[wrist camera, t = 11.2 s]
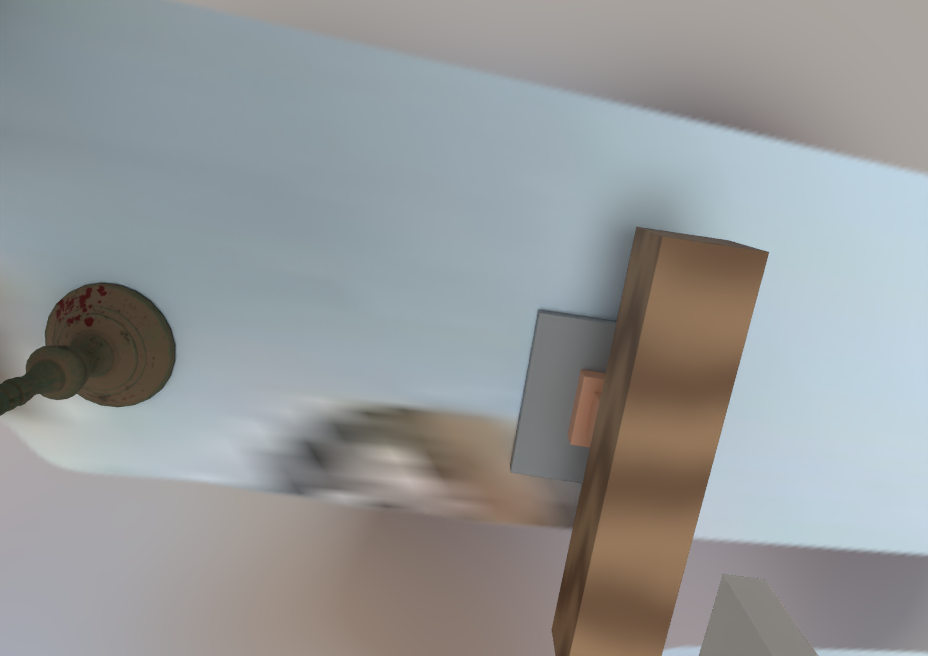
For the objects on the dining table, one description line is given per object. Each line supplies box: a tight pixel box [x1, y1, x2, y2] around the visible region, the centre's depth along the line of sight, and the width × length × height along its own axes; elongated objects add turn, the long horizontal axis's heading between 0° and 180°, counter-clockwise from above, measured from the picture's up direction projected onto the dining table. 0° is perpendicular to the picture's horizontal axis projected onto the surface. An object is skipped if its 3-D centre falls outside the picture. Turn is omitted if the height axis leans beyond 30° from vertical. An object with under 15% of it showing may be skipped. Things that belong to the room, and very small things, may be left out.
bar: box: [552, 227, 769, 656], centre depth 34 cm, size 26×5×5 cm, turn 172°
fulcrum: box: [510, 310, 616, 483], centre depth 41 cm, size 12×12×8 cm
